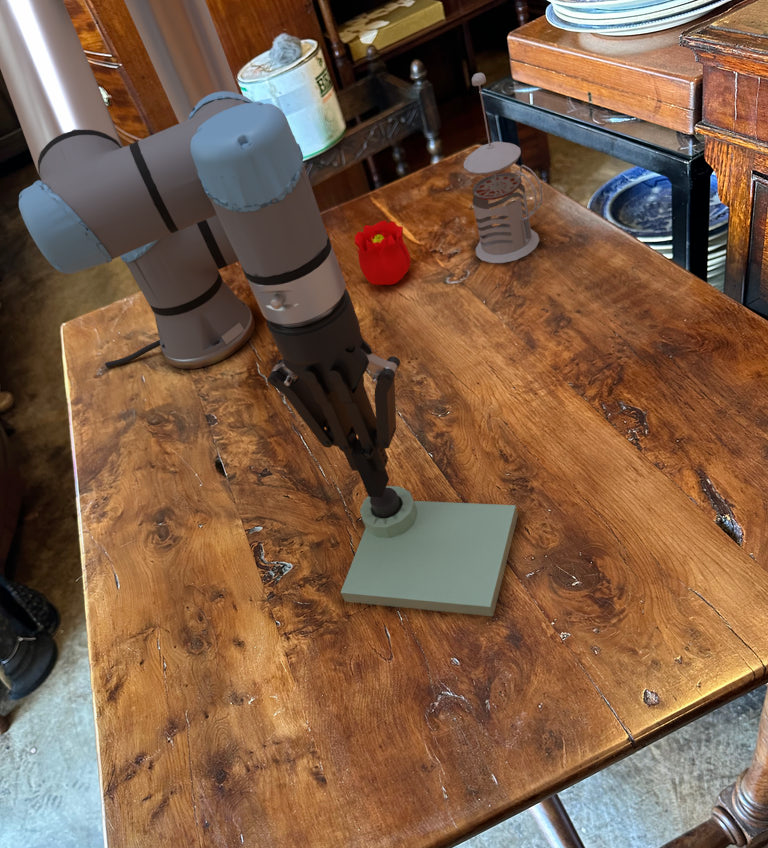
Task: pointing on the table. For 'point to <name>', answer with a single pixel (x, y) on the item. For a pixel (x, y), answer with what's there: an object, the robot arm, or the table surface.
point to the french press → (511, 234)
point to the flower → (382, 253)
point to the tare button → (386, 504)
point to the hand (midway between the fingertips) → (379, 487)
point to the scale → (432, 556)
